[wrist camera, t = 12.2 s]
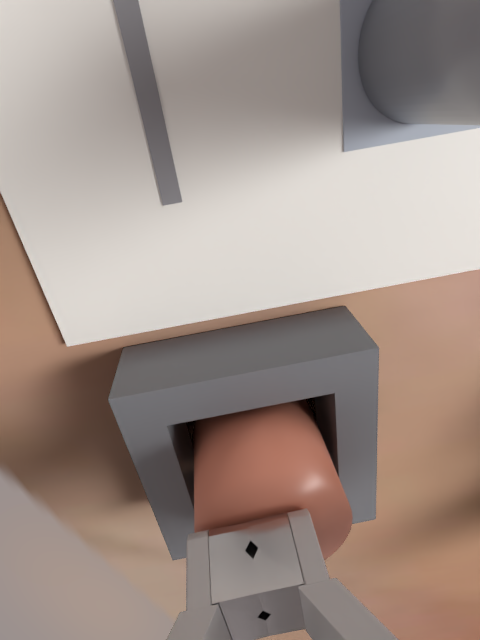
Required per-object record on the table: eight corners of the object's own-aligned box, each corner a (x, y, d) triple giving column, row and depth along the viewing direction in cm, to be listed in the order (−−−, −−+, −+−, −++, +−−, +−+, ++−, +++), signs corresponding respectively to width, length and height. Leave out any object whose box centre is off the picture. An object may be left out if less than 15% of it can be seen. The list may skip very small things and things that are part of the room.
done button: (316, 460, 14) (353, 562, 11) (206, 482, 14) (211, 591, 11) (309, 370, 12) (351, 461, 9) (181, 395, 12) (177, 496, 9)
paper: (580, 246, 12) (587, 249, 12) (68, 343, 12) (66, 347, 12) (768, -446, 6) (789, -466, 6) (-208, -305, 6) (-224, -321, 6)
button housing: (349, 461, 16) (375, 519, 13) (175, 496, 15) (172, 560, 13) (345, 305, 12) (378, 347, 10) (122, 347, 12) (108, 399, 10)
